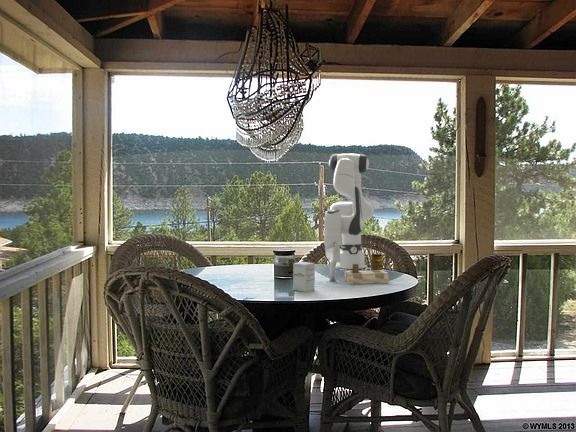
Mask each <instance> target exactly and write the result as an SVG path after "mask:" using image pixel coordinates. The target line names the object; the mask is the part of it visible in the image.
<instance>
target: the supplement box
mask: <svg viewBox="0 0 576 432" xmlns="http://www.w3.org/2000/svg"><path fill="white" fill-rule="evenodd" d="M315 264H316V263H314V262H310V261H309V262H307V261H300V262H299V261H298V262H293V264H292V265H293V266H292V267H293V270H292V271H293V273H292V278H293V279H292V280H293V281H292V283H293V284H292V285H293V286H292V290H293V291H298V292H304V293H307V292H312V291H315V287H316V286H315V285H316V284H315V279H316V277H315V275H316V274H315V273H316V272H315V269H316V267H315V266H316V265H315Z"/></svg>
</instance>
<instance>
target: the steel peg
mask: <svg viewBox="0 0 576 432" xmlns="http://www.w3.org/2000/svg"><path fill="white" fill-rule="evenodd" d="M336 277H337V269H336V270H332V261H331V260H330V262H329V282H337V281H336V280H337V278H336Z"/></svg>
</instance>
